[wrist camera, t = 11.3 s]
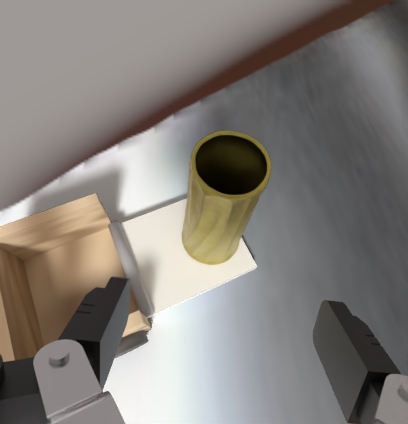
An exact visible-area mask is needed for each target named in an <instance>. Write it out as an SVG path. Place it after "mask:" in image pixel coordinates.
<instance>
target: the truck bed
mask: <svg viewBox="0 0 408 424" xmlns="http://www.w3.org/2000/svg"><path fill="white" fill-rule="evenodd" d="M110 223H112V222H111V220H110V218H109V217H108V215H107V213H106V211H105V209H104V207H103V205H102V203H101V202H100V200H99V198H98V196H97V194H96V193H94V194H91V195H88V196H85V197H83V198H80V199H77V200H74V201H71V202H68V203H65V204H63V205H60V206H57V207H54V208H51V209H48V210H45V211H43V212H40V213H37V214H34V215H31V216H28V217H25V218H23V219H20V220H17V221H14V222H11V223H8V224H5V225H3V226H0V354H1V356H2V358H3V362H7V361H13V360H20V359H26V358H31V357H34V356H35V355H36V354H37V352H38V351H39V350H40V349H41V348H43V347H44V346H45V345H47V344H49V343H51V342H54V341H57V340H58V338H59V337H60V335H61V333H62V332H63V330H64V329H65V327H66V326H67V324H68V322H69V321H70V319H71V318H72V316H73V314H74V313H75V312H76V310H77V308H78V306H79V305H80V303H81V302H82V300H83V299H84V297H85V295H86V294H87V293H89V292H90V291H92V290H93V289H94V288H96V287H99V288H105V287H106V285H107V283H108V281H109V279H110V278H111V277H112V276H114V277H123V278H127V277H126V274H125V272H124V269H123V266H122V263H121V261H120V258H119V255H118V252H117V250H116V247H115V244H114V242H113V239H112V236H111V233H110V231H109V228H108V225H109V224H110ZM150 329H151V326H150V324H149V321H148V319H147V318H146V317H145V316H144V315H143V314H142V313H141V312H140V311H139V310H138V307H137V304H136V302H135V299H134V296H133V293H132V291H131V288H130V306H129V316H128V321H127V325H126V328H125V330H124V333H123V336H122V339H121V341H120V344H119V347H118V349H117V352H116V355H115V358H116V357H119V356H121V355H123V354H125V353H127V352H130V351H132V350H134V349H136V348H138V347H139V346H141V345H143V344H145V343H147V342H148V339H147V336H146V333H145V332H146V331H148V330H150Z"/></svg>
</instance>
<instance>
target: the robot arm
mask: <svg viewBox="0 0 408 424" xmlns="http://www.w3.org/2000/svg"><path fill="white" fill-rule="evenodd" d="M129 306H130V278H123V277H114V276H112V277H111V278H110V279H109V281H108V283H107V285H106V287H105V288H99V287H96V288H94V289H93V290H92V291H90V292H89V293H87V294H86V295H85V297H84V299H83V300H82V302H81V303H80V305H79V306H78V308H77V310H76V312H75V313H74V314H73V316H72V318H71V319H70V321H69V322H68V324H67V326H66V327H65V329H64V330H63V332H62V333H61V335H60V337H59V338H58V340H57V341H54V342H51V343H49V344H47V345H45V346H44V347H43V348H41V349H40V350H39V351H38V352H37V354H36V355H35V356H34V357H31V358H26V359H20V360H13V361H7V362H3V358H2V356H1V354H0V424H125V422H124V420H123V418H122V416H121V414H120V412H119V410H118V407H117V405H116V403H115V401H114V399H113V397H112V395H111V394H110V392H108V391H106V392H104V393H103V391H102V390H103V388H104V385H105V382H106V380H107V377H108V374H109V371H110V369H111V366H112V363H113V360H114V358H115V355H116V352H117V349H118V347H119V344H120V341H121V339H122V336H123V333H124V330H125V328H126V325H127V321H128V316H129ZM313 342H314V346H315V349H316V351H317V353H318V356H319V358H320V360H321V363H322V365H323V367H324V370H325V372H326V374H327V377H328V379H329V381H330V384H331V386H332V388H333V391H334V393H335V396H336V398H337V400H338V403H339V405H340V407H341V410H342V412H343V414H344V417H345V419H346V421H347V423H352V424H408V377H407V376H404V375H401V373H400V372H399V370H398V369H397V367H396V366H395V364H394V363H393V362H392V360H391V359H390V357H389V356H388V354H387V353H386V352H385V350H384V349H383V347H382V346H380V343H379V342H378V340H377V339H376V338H375V337H374V334H373V333H372V331H371V330H370V329H369V327H368V326H367V325H366V324H365V323H364V322H363V321H361V320H360V319H359V318H358V317H357V316H353V315H352V314H351V312H350V311H349V309H348V308H347V306H346V305H345V304H344V303H343V302H336V301H327V300H324V301H323V302H322V304H321V306H320V310H319V313H318V316H317V320H316V323H315V326H314V330H313Z"/></svg>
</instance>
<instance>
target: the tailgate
mask: <svg viewBox="0 0 408 424" xmlns="http://www.w3.org/2000/svg"><path fill="white" fill-rule="evenodd" d="M186 204H187V198H186V199H184V200H181V201H178V202H176V203H173V204H170V205H168V206H165V207H163V208H160V209H157V210H155V211H152V212H149V213H147V214H144V215H141V216H139V217H136V218H134V219H131V220H128V221H126V222H123V223H119V222H118V221H115V222H112V223H110V224H109V225H108V228H109V231H110V233H111V236H112V239H113V242H114V244H115V247H116V250H117V252H118V255H119V258H120V261H121V263H122V266H123V269H124V272H125V274H126V277H127V278H130V288H131V291H132V293H133V296H134V299H135V302H136V304H137V307H138V310H139V311H140V312H141V313H142V314H143V315H144V316H145V317H146V318H147V319H149V318H151V317H153V316H155V315H157V314H159V313H161V312H164V311H166V310H168V309H170V308H172V307H174V306H177V305H179V304H181V303H183V302H185V301H187V300H190V299H192V298H194V297H196V296H198V295H200V294H202V293H205V292H207V291H209V290H211V289H213V288H215V287H218V286H220V285H222V284H224V283H226V282H228V281H230V280H233V279H235V278H237V277H239V276H241V275H243V274H246V273H248V272H250V271H252V270H254V269H255V268H256V267H257V265H256V263H255V261H254V260H253V258H252V256H251V254H250V252H249V250H248V248H247V246H246V245H245V243H244V241H243V239H242V237H241V239H240V242H239V246H238V249H237V251H236V253H235V254H234V255H233V256H232V257H231V258H230V259H229V260H227V261H226V262H224V263H221V264H216V265H207V264H203V263H200V262H198V261H196V260H194V259H193V258H191V257H190V256H189V254H188V253H187V252H186V250H185V248H184V246H183V243H182V230H183V225H184V218H185V211H186Z"/></svg>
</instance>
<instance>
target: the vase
mask: <svg viewBox="0 0 408 424" xmlns="http://www.w3.org/2000/svg"><path fill="white" fill-rule="evenodd" d="M270 175H271V161H270V157H269V155H268V153H267V151H266V150H265V149H264V147H263V146H262V145H261V144H260V143H259V142H258V141H257V140H256V139H254V138H253V137H251V136H249V135H246V134H243V133H240V132H235V131H218V132H214V133H212V134H210V135H208V136H206V137H204V138H203V139H201V140H200V141H199V142H198V143H197V144H196V146H195V148H194V150H193V152H192V155H191V160H190V169H189V183H188V195H187V204H186V211H185V218H184V225H183V230H182V243H183V246H184V248H185V250H186V252H187V253H188V254H189V256H190V257H191V258H193V259H194V260H196V261H198V262H200V263H203V264H207V265H216V264H221V263H224V262H226V261H227V260H229V259H230V258H231V257H232V256H233V255H234V254H235V253H236V251H237V249H238V246H239V242H240V239H241V237H242V235H243V233H244V230H245V228H246V226H247V224H248V221H249V219H250V217H251V215H252V212H253V210H254V208H255V206H256V204H257V201H258V199H259V197H260V194H261V193H262V192H263V190H264V189H265V187H266V185H267V183H268V180H269V178H270Z"/></svg>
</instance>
